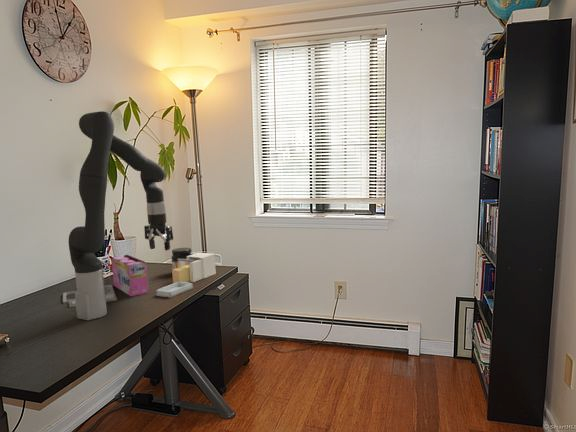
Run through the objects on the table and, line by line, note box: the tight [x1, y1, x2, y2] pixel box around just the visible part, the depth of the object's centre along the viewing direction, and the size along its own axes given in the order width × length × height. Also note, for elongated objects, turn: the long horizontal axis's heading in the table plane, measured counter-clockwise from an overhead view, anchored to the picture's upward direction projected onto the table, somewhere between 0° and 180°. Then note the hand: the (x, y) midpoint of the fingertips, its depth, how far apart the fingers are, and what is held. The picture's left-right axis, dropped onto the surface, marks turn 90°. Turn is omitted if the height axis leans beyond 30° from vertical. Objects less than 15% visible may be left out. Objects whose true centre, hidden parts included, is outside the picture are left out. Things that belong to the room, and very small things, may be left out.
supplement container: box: [171, 247, 193, 271], centre depth 217 cm, size 10×10×12 cm
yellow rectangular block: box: [171, 265, 191, 284], centre depth 200 cm, size 10×4×7 cm, turn 152°
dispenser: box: [177, 252, 217, 283], centre depth 208 cm, size 16×10×10 cm, turn 152°
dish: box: [155, 281, 194, 299], centre depth 185 cm, size 14×8×2 cm, turn 152°
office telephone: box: [62, 284, 118, 308], centre depth 183 cm, size 23×3×20 cm
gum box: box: [111, 254, 149, 297], centre depth 192 cm, size 24×8×14 cm, turn 40°
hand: (160, 249), depth 187 cm, fingers open, 8 cm apart
